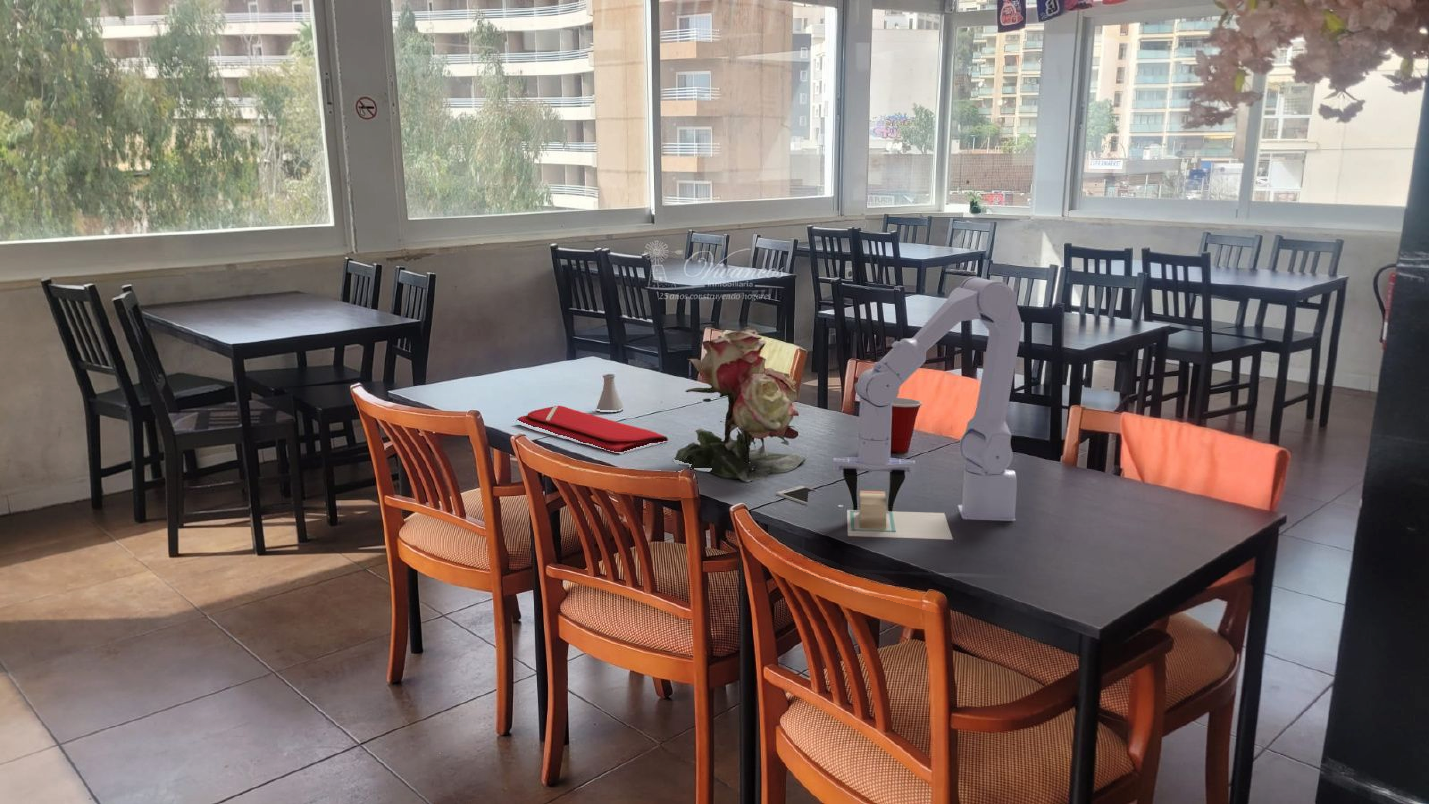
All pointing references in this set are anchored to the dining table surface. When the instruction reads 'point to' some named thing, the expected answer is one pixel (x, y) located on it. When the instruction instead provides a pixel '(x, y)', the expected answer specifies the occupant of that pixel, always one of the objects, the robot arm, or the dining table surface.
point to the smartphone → (797, 494)
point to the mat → (903, 525)
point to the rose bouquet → (744, 409)
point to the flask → (609, 395)
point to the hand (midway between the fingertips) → (872, 509)
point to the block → (872, 509)
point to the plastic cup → (903, 423)
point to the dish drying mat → (591, 429)
